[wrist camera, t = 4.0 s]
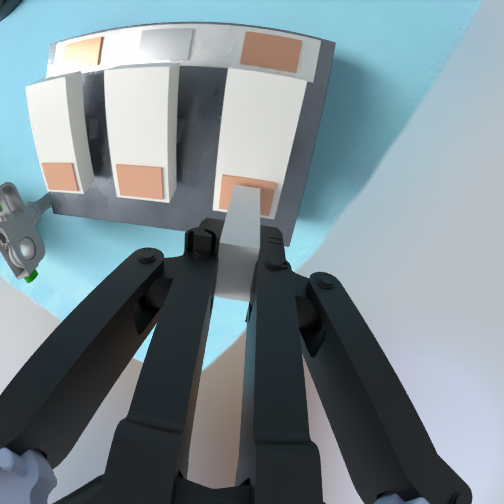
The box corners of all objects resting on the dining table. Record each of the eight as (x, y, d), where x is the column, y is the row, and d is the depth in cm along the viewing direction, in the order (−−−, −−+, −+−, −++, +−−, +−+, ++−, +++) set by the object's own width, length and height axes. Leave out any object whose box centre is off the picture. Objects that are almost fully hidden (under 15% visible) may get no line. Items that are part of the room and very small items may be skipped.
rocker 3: (232, 66, 13) (227, 68, 11) (303, 77, 13) (307, 81, 11) (217, 195, 19) (212, 211, 17) (273, 204, 19) (274, 221, 18)
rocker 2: (119, 65, 12) (102, 71, 11) (179, 62, 12) (168, 67, 11) (126, 183, 18) (115, 198, 17) (176, 188, 19) (168, 204, 17)
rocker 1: (41, 79, 11) (24, 87, 10) (81, 70, 12) (63, 77, 10) (58, 178, 18) (46, 192, 17) (94, 180, 18) (82, 195, 17)
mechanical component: (47, 151, 22) (-17, 186, 13) (82, 228, 27) (34, 282, 19) (33, 162, 22) (-27, 198, 14) (67, 234, 28) (21, 286, 19)
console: (82, 46, 16) (41, 43, 11) (320, 52, 17) (340, 39, 12) (79, 192, 25) (46, 219, 19) (284, 218, 26) (290, 255, 21)
